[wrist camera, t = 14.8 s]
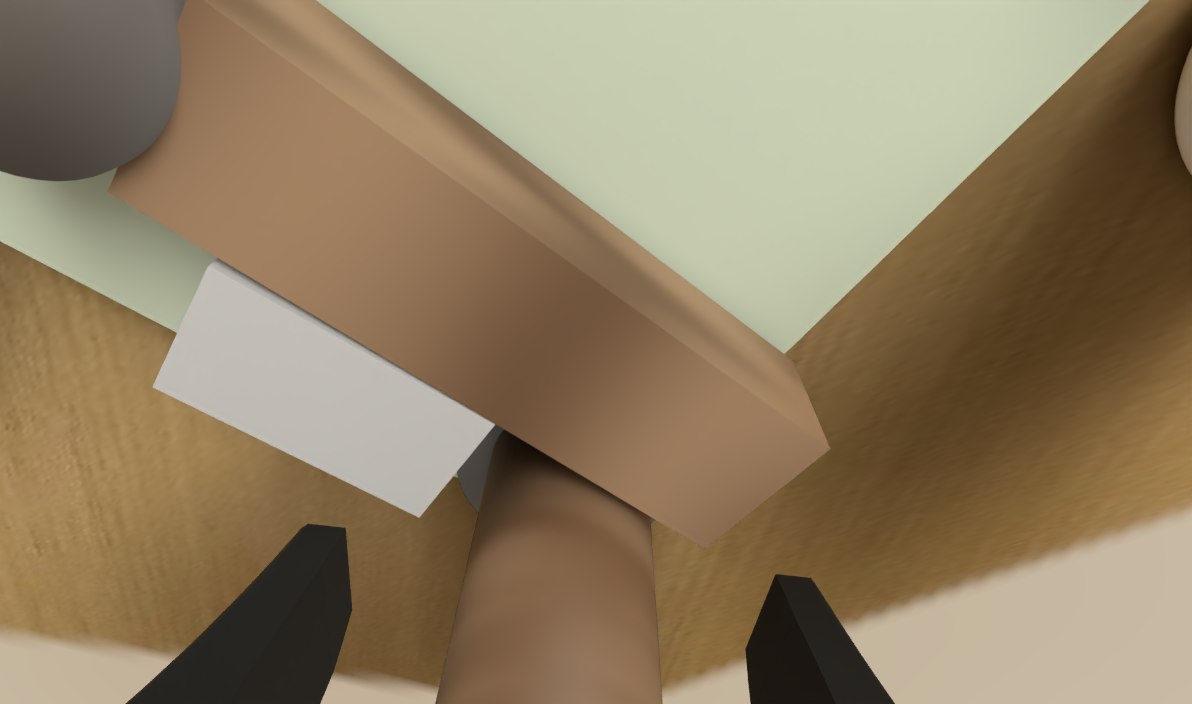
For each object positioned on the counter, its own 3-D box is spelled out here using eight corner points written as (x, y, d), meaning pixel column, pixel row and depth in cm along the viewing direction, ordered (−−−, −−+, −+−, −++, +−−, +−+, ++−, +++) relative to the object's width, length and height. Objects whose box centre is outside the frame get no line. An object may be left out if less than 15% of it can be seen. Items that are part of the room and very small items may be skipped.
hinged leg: (-26, 15, 10) (-232, 43, 7) (43, -246, 8) (-187, -317, 6) (676, 464, 14) (690, 576, 12) (809, 345, 12) (856, 445, 10)
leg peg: (505, 527, 15) (445, 876, 10) (477, 410, 13) (384, 752, 8) (651, 518, 15) (675, 870, 9) (641, 398, 13) (663, 741, 8)
